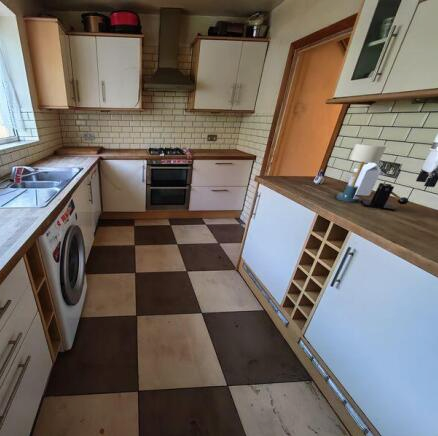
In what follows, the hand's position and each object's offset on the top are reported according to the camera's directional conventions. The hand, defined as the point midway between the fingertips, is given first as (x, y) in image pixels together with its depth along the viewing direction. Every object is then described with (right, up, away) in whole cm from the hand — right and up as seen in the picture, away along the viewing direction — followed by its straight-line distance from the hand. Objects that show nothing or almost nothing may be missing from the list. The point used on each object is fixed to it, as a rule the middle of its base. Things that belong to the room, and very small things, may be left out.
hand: (424, 184), depth 109 cm
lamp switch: (-8, -6, +8) cm, 12 cm away
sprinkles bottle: (-2, +2, +38) cm, 38 cm away
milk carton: (-4, -2, +30) cm, 30 cm away
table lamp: (-19, -6, +21) cm, 29 cm away
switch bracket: (-11, -10, +12) cm, 19 cm away
